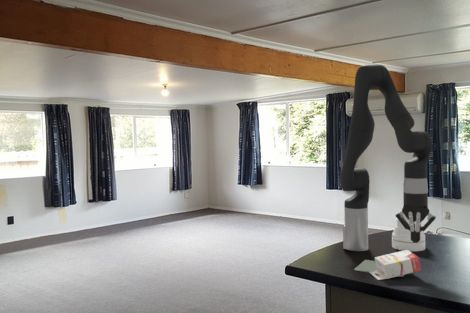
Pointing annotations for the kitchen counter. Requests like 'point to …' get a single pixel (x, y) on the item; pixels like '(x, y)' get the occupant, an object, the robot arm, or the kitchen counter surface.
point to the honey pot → (406, 238)
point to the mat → (368, 266)
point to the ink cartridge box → (396, 265)
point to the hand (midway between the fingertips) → (415, 242)
